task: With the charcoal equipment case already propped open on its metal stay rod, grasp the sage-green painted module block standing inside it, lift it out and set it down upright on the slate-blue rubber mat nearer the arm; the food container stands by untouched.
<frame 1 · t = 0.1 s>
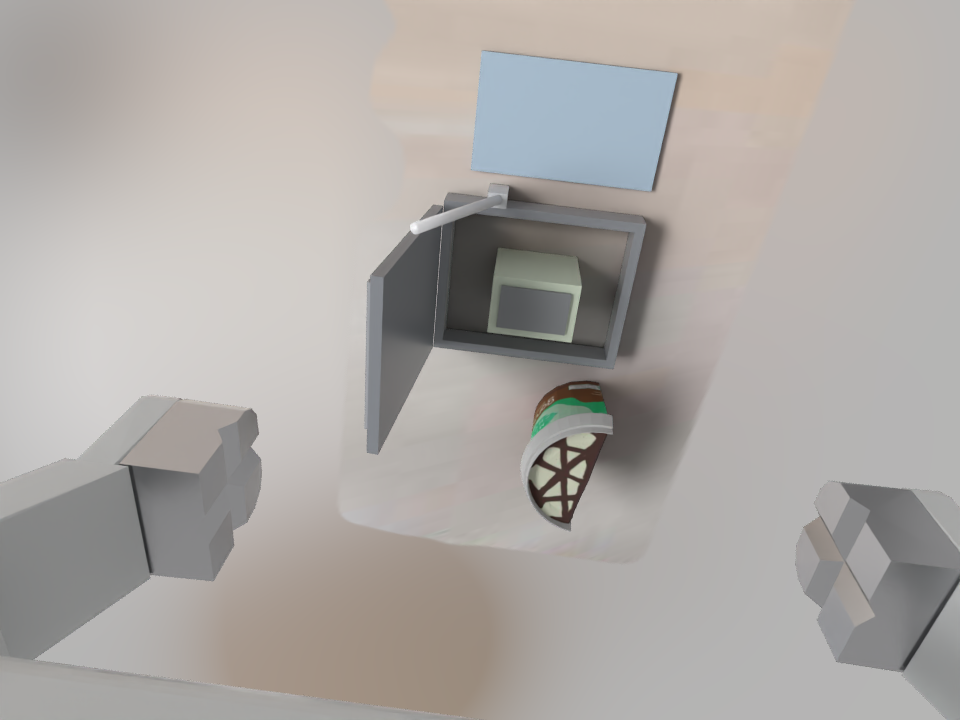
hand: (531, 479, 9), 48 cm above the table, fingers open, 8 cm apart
lid: (404, 318, 49), point 11 cm above the table, hinge at 95.0°
module: (533, 278, 59), resting in case
food container: (553, 412, 66), on the table
case: (533, 278, 59), on the table
mat: (569, 123, 52), on the table
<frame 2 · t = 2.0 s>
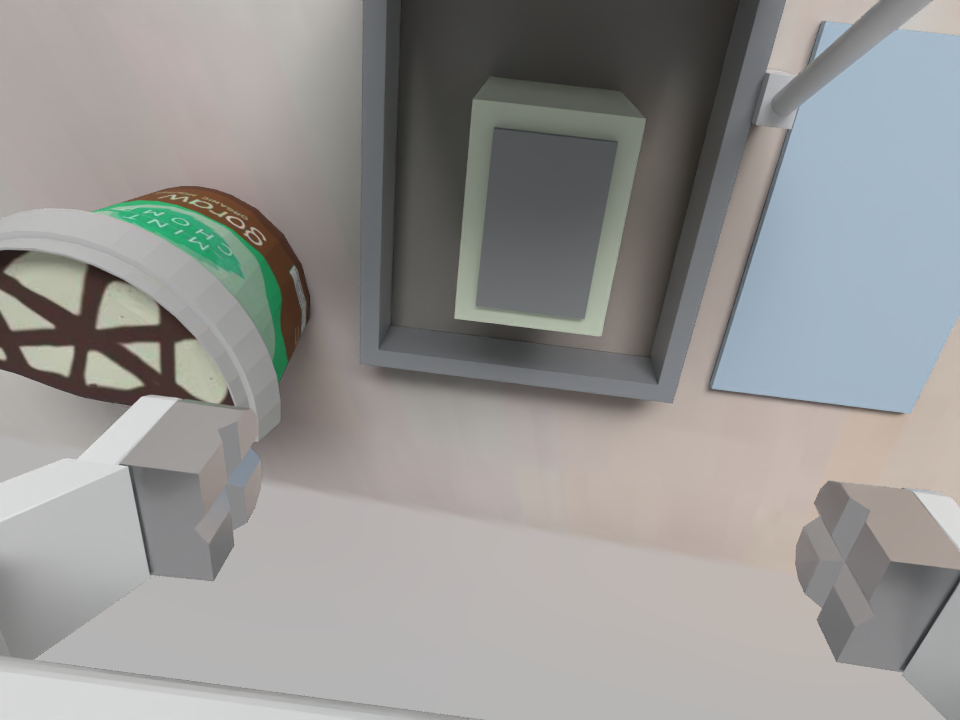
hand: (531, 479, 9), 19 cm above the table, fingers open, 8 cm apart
module: (542, 176, 27), resting in case
food container: (215, 229, 29), on the table
case: (542, 176, 26), on the table
mat: (869, 240, 27), on the table
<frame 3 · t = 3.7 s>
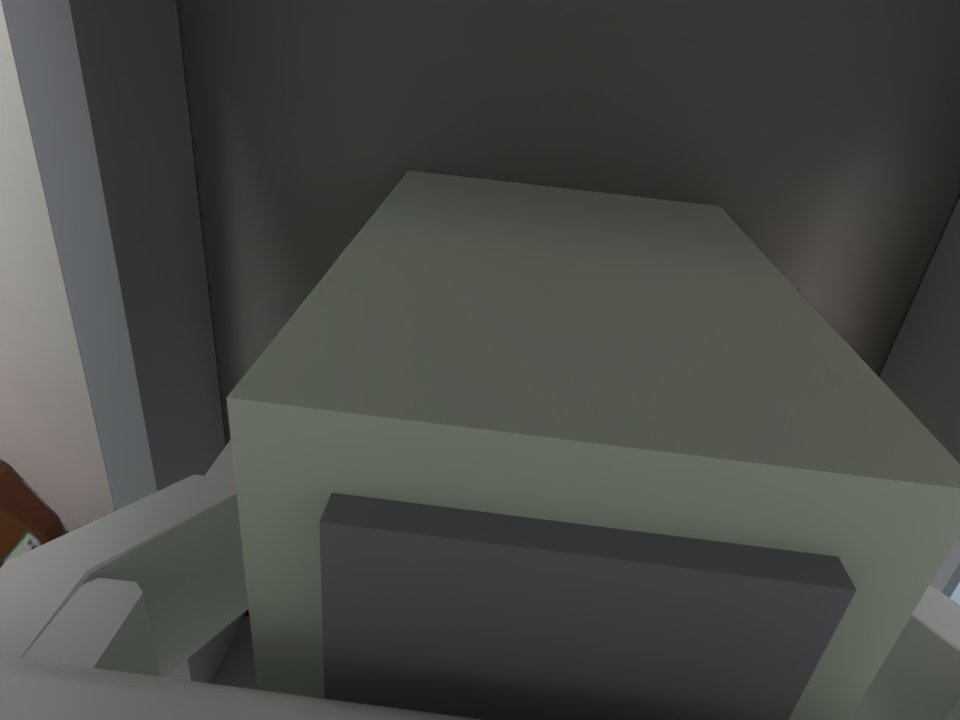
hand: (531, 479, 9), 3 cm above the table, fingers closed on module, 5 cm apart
module: (533, 376, 12), resting in case, touching gripper
case: (533, 378, 12), on the table
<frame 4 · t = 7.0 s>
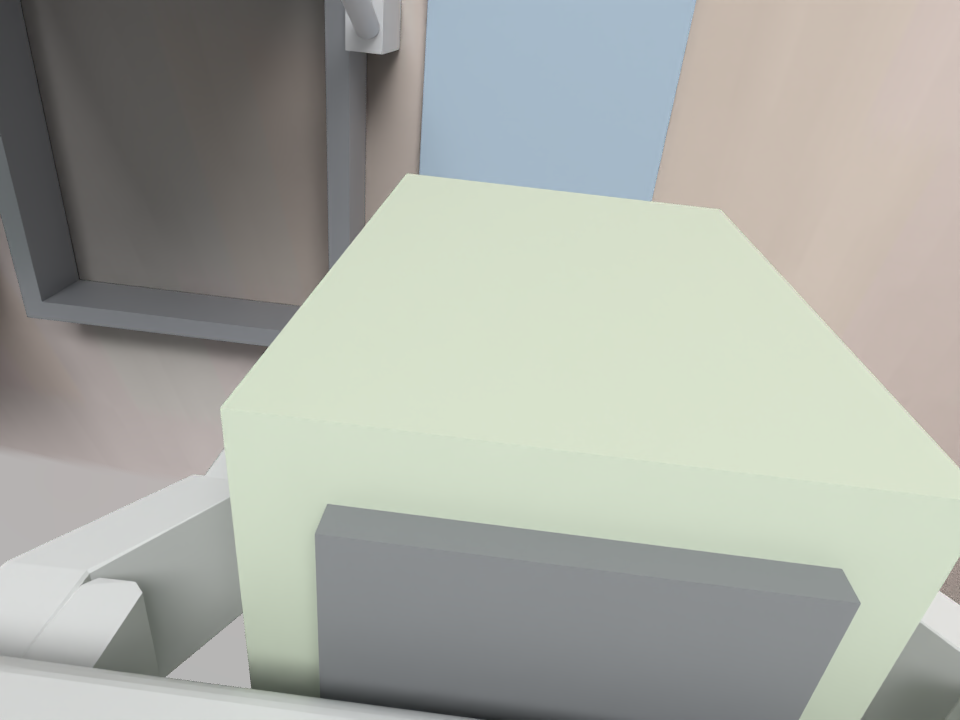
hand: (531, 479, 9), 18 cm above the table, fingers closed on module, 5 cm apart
module: (533, 380, 12), point 15 cm above the table, touching gripper
case: (192, 117, 25), on the table
mat: (535, 183, 26), on the table
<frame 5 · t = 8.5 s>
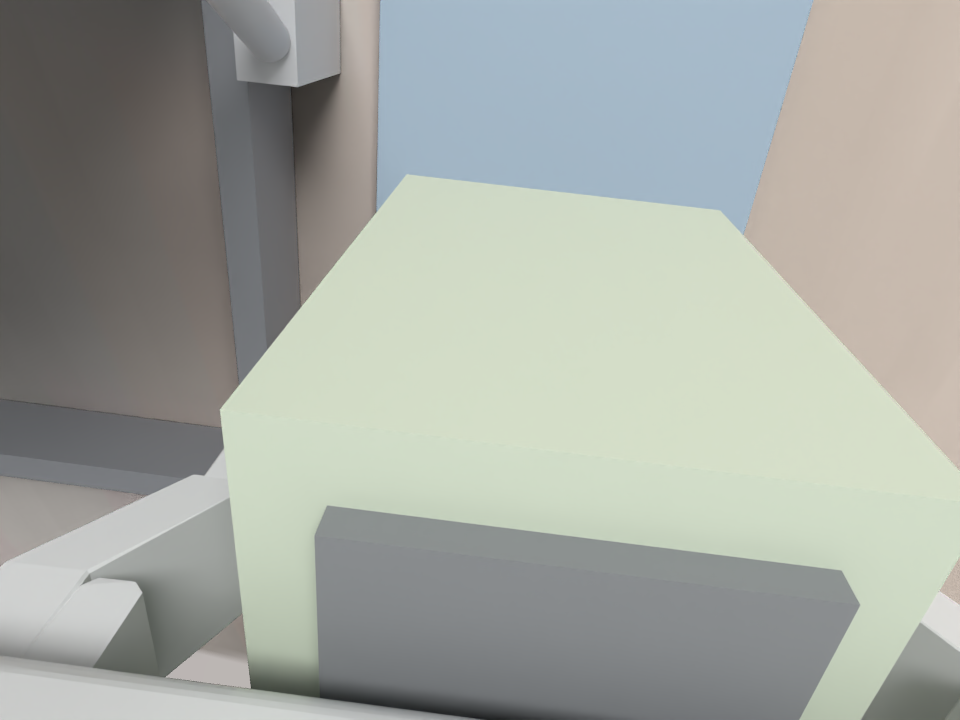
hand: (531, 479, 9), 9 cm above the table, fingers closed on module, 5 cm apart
module: (533, 381, 12), point 6 cm above the table, touching gripper
case: (40, 172, 17), on the table
mat: (548, 269, 17), on the table
when the fingers open (5 cm above the table, at t = 9.8 s): module drops 1 cm, resting on mat.
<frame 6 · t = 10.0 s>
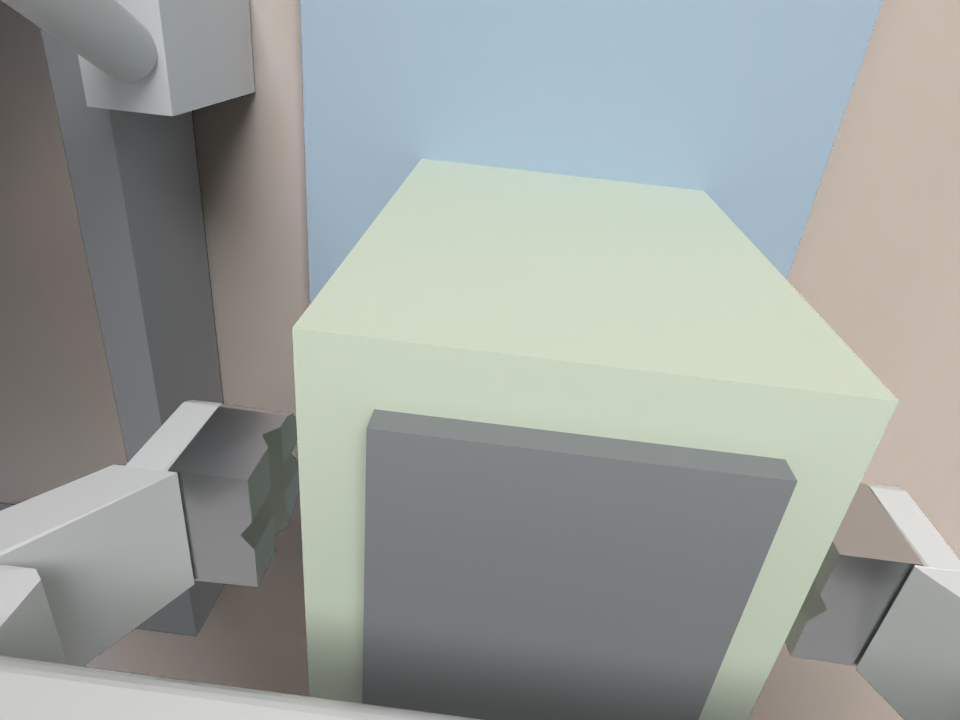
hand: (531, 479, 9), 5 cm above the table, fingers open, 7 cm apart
module: (535, 349, 13), resting on mat
mat: (531, 338, 14), on the table
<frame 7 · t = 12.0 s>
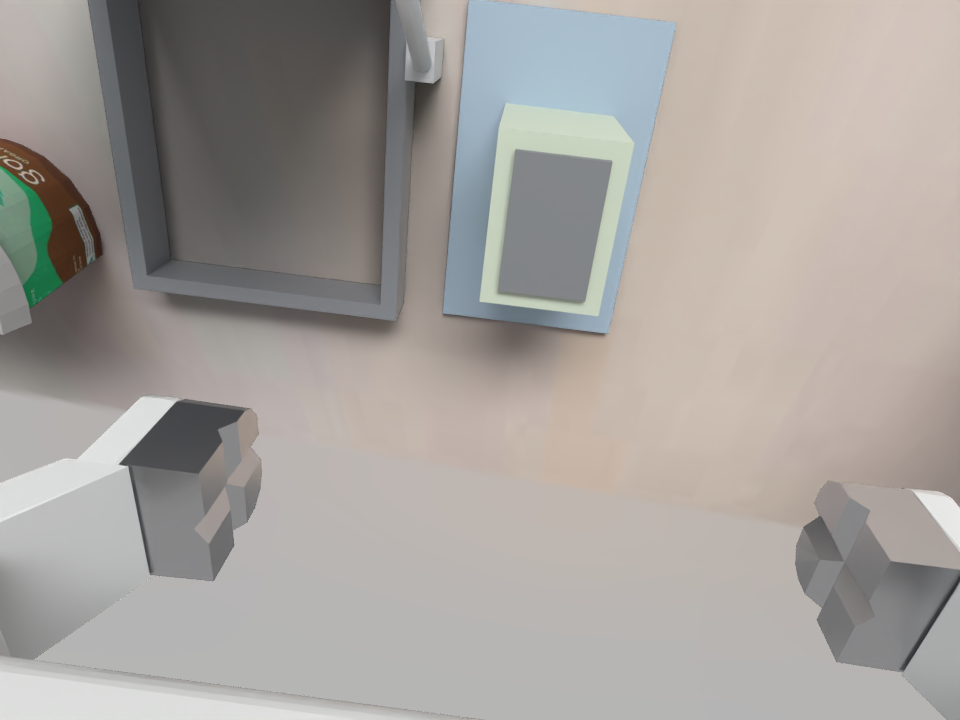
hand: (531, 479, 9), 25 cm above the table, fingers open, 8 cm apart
module: (548, 185, 32), resting on mat
food container: (13, 175, 34), on the table
case: (273, 128, 32), on the table
mat: (546, 182, 32), on the table
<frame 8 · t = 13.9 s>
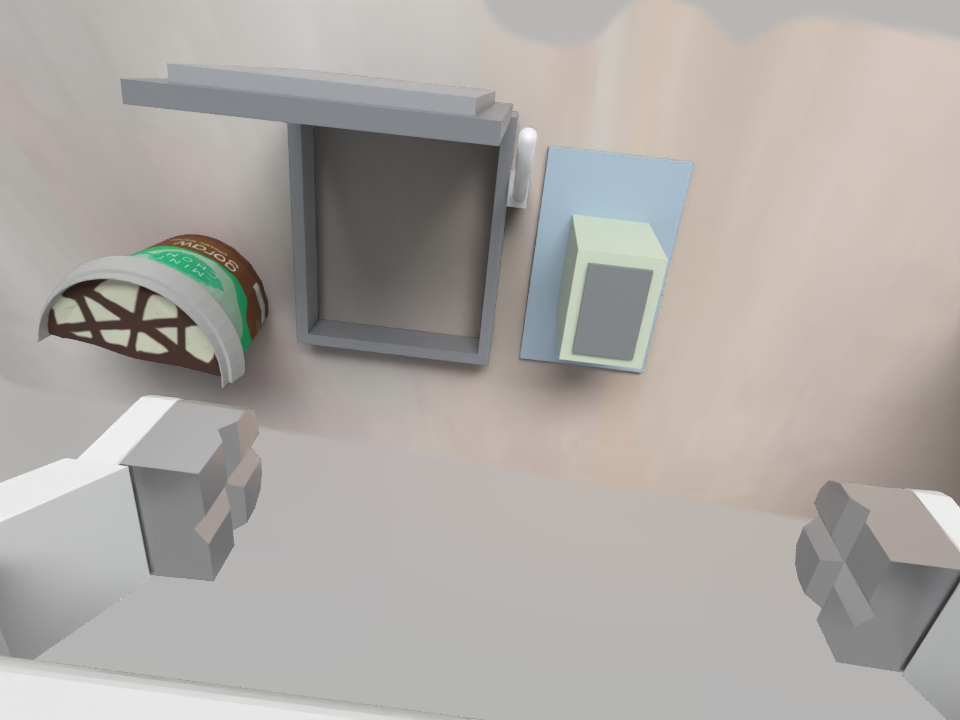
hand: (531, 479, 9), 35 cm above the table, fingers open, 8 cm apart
lid: (366, 96, 30), point 11 cm above the table, hinge at 95.0°
module: (600, 269, 44), resting on mat
food container: (208, 260, 47), on the table
case: (403, 229, 44), on the table
mat: (599, 266, 44), on the table
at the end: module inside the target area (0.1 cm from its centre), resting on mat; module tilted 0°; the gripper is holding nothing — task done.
